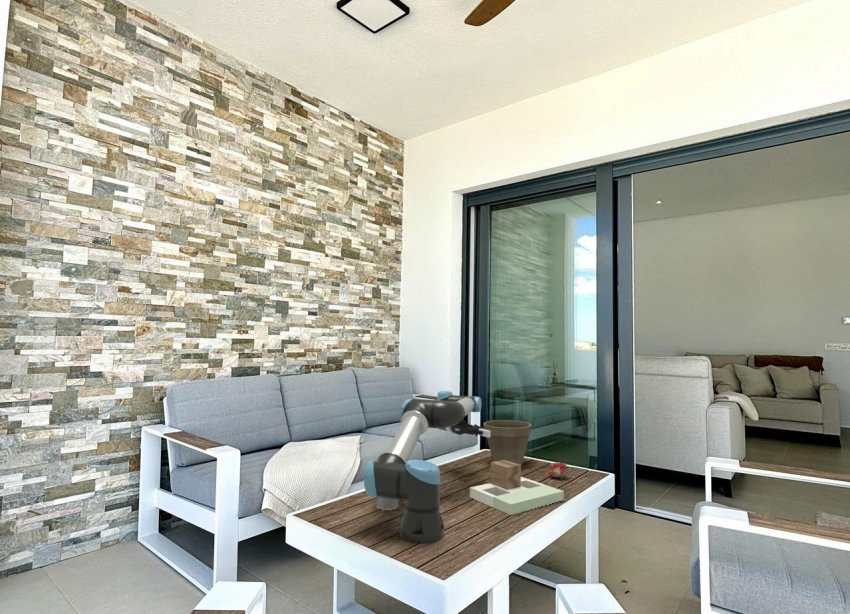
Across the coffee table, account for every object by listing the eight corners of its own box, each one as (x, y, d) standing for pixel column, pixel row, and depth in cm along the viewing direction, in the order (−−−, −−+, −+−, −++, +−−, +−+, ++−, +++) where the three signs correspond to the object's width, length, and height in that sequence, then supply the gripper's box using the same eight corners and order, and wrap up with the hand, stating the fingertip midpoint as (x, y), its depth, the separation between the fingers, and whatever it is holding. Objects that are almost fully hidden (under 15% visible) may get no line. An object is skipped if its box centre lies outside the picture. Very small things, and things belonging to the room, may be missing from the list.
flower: (574, 476, 228) (568, 460, 233) (562, 475, 223) (556, 458, 228) (559, 484, 234) (554, 468, 239) (547, 483, 229) (541, 467, 234)
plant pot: (473, 464, 255) (473, 422, 256) (502, 457, 271) (502, 417, 273) (511, 474, 236) (512, 429, 238) (540, 466, 253) (540, 424, 254)
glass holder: (374, 503, 192) (375, 465, 193) (409, 501, 195) (410, 463, 196) (378, 511, 183) (379, 471, 184) (414, 508, 187) (415, 469, 188)
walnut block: (506, 489, 199) (507, 467, 200) (490, 483, 207) (490, 462, 208) (520, 486, 204) (520, 464, 204) (504, 480, 212) (504, 459, 212)
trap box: (510, 515, 181) (510, 504, 182) (469, 497, 201) (469, 487, 201) (563, 501, 198) (563, 491, 199) (521, 485, 218) (521, 476, 218)
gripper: (466, 432, 238) (499, 441, 219) (445, 434, 231) (478, 444, 211) (466, 416, 239) (500, 424, 219) (445, 419, 231) (478, 427, 212)
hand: (489, 434), depth 215 cm, fingers closed
